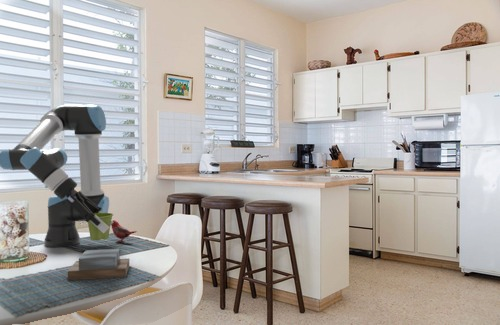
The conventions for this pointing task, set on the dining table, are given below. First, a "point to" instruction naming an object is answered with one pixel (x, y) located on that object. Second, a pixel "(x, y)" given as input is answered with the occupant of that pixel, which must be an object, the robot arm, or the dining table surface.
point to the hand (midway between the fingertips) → (108, 227)
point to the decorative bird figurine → (120, 231)
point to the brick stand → (99, 265)
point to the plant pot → (95, 232)
